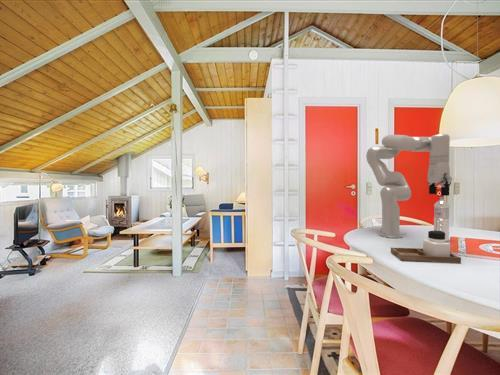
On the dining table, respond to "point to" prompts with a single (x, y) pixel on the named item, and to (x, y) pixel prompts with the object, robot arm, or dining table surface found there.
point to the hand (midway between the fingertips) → (438, 194)
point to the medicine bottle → (436, 244)
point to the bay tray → (422, 256)
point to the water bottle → (442, 217)
